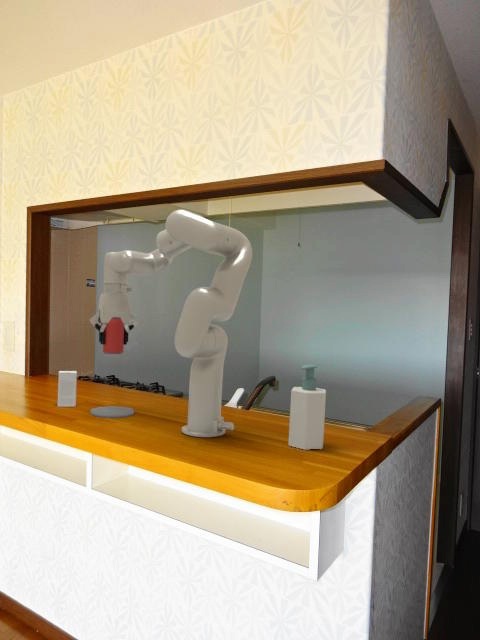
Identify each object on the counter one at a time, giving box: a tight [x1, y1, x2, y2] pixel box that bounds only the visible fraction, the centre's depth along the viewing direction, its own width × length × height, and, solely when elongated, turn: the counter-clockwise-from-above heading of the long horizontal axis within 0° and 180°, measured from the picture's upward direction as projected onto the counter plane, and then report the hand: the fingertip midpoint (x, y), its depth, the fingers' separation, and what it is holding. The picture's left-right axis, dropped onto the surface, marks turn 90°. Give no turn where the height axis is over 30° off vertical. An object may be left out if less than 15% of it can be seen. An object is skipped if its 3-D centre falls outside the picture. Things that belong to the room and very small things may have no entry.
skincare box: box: [57, 370, 78, 408], centre depth 172 cm, size 6×4×12 cm
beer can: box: [102, 317, 125, 355], centre depth 163 cm, size 7×7×12 cm
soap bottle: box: [287, 364, 327, 451], centre depth 135 cm, size 10×9×22 cm
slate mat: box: [90, 405, 135, 419], centre depth 164 cm, size 14×14×1 cm
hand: (113, 343), depth 163 cm, fingers closed on beer can, 6 cm apart
